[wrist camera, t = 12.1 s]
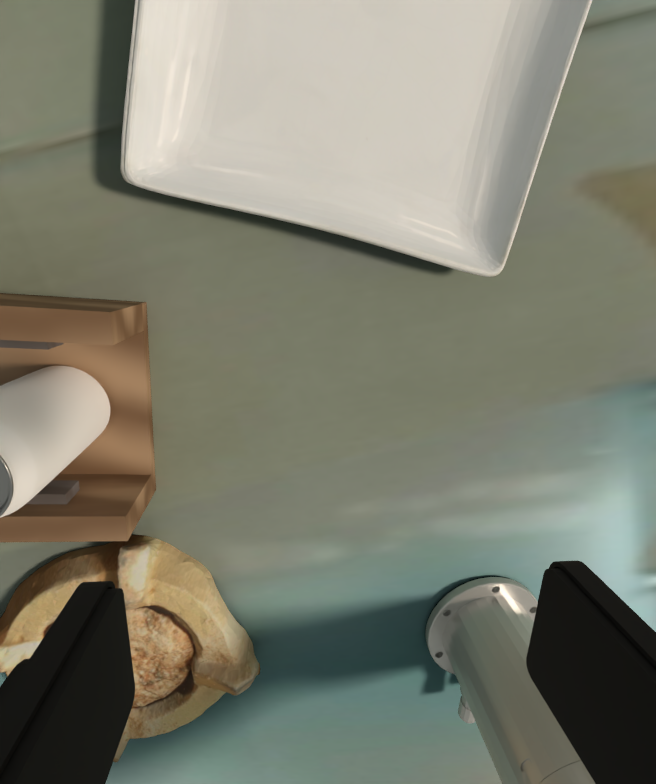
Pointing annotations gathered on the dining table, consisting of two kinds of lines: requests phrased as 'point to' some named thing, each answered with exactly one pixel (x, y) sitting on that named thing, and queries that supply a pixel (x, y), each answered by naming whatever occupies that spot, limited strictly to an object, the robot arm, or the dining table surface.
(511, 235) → the square plate
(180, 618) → the ashtray
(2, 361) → the holder
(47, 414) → the can
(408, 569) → the dining table surface
